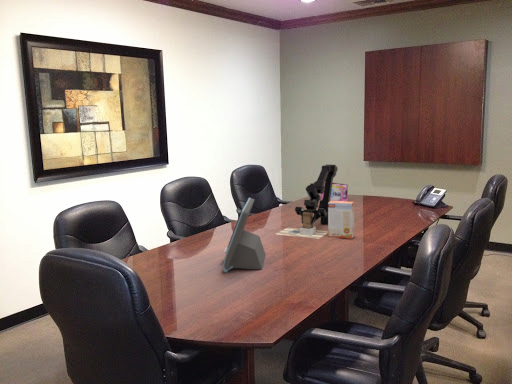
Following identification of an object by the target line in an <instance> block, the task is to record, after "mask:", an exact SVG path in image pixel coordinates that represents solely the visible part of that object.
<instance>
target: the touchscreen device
mask: <svg viewBox="0 0 512 384" xmlns="http://www.w3.org/2000/svg"><path fill="white" fill-rule="evenodd" d="M254 203H255V199H254V198H252V197H248V198H247V200H246V201H245V203H244V205H243V207H242V209H241V211H239V212H240V213H239V215H238V217H237V221H236V224H235V226H234V229H233V232H232V233H231V237H230V240H229V241H228V245H227V246H225V249H224V251H223V253H225V255H224V259H223V260H224V261H223V262H222V263H223V264H222V270H223V272H224V273H228V272H229V271H230V270H232V269H242V270H244V269H245V270H264V269H263V268H264V263H265V260H266V259H265V258H266V255H267V254H266V252H265V251H266V250H265V249H264V246H263V244H262V240H261V238H260V235H258V234H255V233H253V232H250V231H248V230H245V227H246V224H247V221H248V219H249V216H250V214H251V211H252V208H253V206H254Z"/></svg>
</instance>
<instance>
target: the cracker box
mask: <svg viewBox="0 0 512 384" xmlns="http://www.w3.org/2000/svg"><path fill="white" fill-rule="evenodd" d="M327 225H328V227H327V229H328V230H327V231H328V233H327V234H328V237H333V238H339V239H349V240H350V239H351V240H352V239H353V238H355V201H332V200H330V202H328V224H327Z"/></svg>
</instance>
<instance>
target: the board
mask: <svg viewBox="0 0 512 384" xmlns="http://www.w3.org/2000/svg"><path fill="white" fill-rule="evenodd" d="M327 234H328V230H318V229H316V233H315V234H314V235H312V236H308V235H300V228H297V227H296V228H295V227H286V228H284V229H282V230H279V231H278V232H276V233H275V235H279V236H288V237H296V238H308V239H318V240H320V239H321V238H323V237H324V236H326V235H327Z"/></svg>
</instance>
